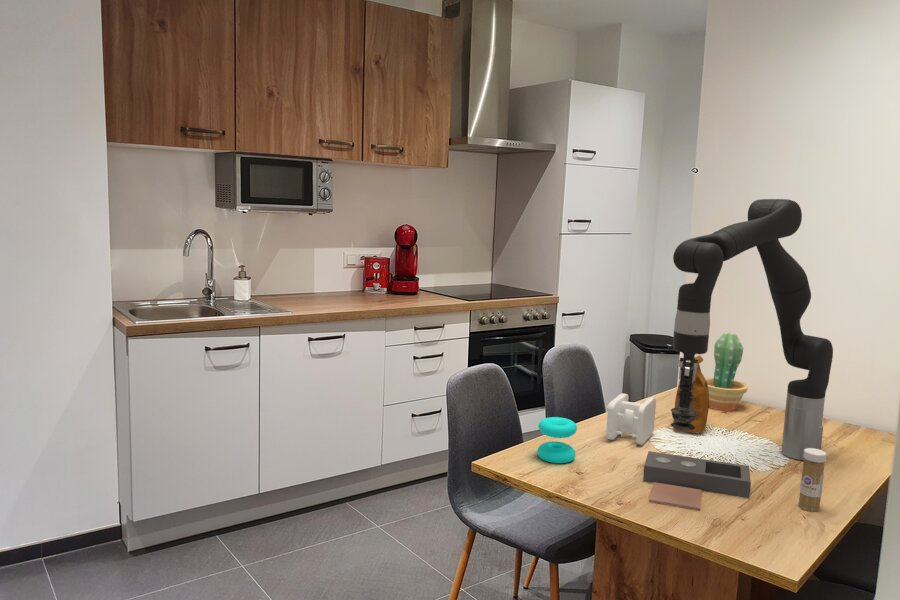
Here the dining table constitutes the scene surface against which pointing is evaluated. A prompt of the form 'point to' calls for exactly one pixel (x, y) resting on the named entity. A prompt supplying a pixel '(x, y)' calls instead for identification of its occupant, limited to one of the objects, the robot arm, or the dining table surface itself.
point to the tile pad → (675, 496)
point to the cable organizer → (630, 418)
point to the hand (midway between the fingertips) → (684, 404)
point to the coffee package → (698, 400)
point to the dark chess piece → (684, 414)
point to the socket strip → (698, 474)
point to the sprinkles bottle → (812, 479)
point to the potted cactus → (726, 374)
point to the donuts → (554, 449)
